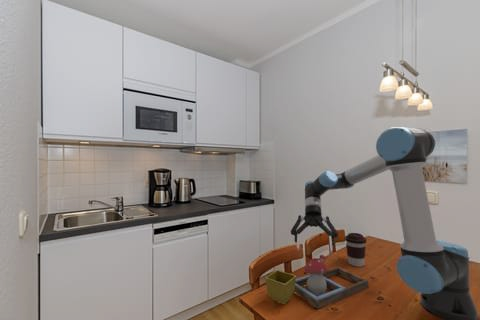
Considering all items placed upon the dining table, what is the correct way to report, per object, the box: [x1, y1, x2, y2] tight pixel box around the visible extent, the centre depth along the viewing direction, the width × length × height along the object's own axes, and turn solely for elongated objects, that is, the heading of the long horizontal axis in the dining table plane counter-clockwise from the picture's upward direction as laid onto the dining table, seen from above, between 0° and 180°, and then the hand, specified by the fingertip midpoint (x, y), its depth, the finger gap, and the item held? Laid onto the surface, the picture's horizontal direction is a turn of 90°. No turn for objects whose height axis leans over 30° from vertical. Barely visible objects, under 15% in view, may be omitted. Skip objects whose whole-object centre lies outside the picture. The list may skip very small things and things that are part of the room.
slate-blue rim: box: [295, 274, 346, 301], centre depth 95 cm, size 15×15×1 cm
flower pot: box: [265, 269, 297, 306], centre depth 91 cm, size 9×9×9 cm
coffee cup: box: [344, 232, 367, 268], centre depth 122 cm, size 10×10×15 cm
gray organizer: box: [294, 266, 369, 309], centre depth 98 cm, size 15×29×3 cm, turn 118°
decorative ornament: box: [303, 254, 329, 297], centre depth 95 cm, size 9×7×15 cm
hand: (314, 250), depth 101 cm, fingers open, 13 cm apart
